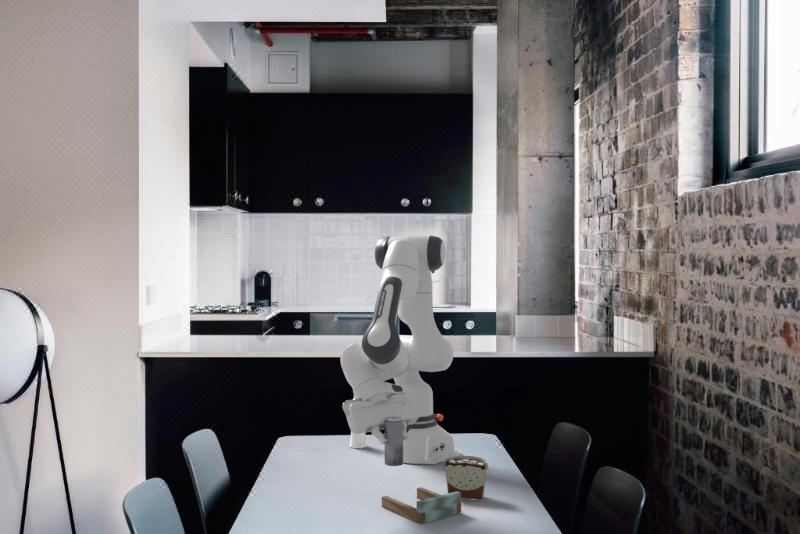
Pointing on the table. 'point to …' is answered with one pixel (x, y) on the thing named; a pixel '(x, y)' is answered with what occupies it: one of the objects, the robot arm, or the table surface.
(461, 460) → the food container
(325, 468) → the table surface
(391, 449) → the drinking glass
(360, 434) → the cosmetic bottle
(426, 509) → the keeper cradle
